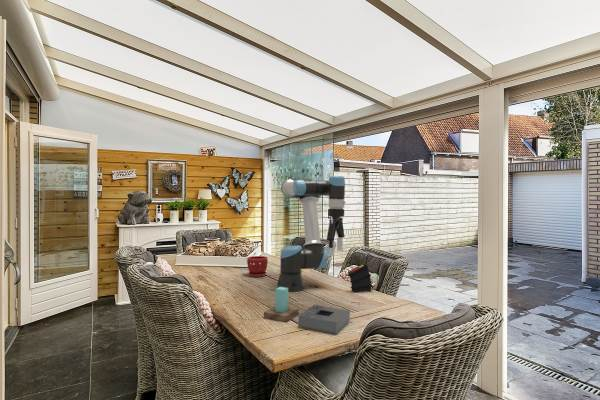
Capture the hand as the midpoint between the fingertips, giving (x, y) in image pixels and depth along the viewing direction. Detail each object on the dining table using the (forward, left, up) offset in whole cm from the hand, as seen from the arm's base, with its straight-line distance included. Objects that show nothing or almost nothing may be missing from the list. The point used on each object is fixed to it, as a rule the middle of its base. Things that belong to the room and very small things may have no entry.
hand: (335, 252), depth 172 cm
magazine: (+3, +30, -25) cm, 39 cm away
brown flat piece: (-15, -26, -25) cm, 39 cm away
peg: (-15, -26, -25) cm, 39 cm away
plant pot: (-66, +34, -25) cm, 78 cm away
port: (+5, -26, -25) cm, 37 cm away
